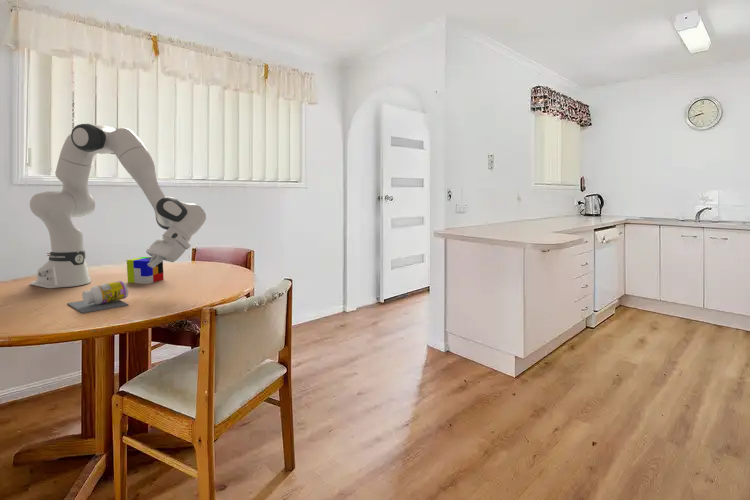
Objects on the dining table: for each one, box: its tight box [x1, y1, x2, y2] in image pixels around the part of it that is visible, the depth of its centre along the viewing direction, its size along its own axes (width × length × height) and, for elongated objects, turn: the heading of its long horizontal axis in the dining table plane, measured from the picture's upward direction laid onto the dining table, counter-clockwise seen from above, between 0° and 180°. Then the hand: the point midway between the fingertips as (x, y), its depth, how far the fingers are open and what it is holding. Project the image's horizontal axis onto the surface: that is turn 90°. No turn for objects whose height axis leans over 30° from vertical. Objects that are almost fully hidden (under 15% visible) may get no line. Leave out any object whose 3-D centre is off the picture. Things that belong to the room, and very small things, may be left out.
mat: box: [67, 299, 129, 314], centre depth 153 cm, size 14×16×1 cm
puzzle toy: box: [126, 256, 165, 285], centre depth 192 cm, size 10×10×10 cm
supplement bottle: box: [81, 280, 129, 305], centre depth 153 cm, size 7×7×13 cm
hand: (150, 266), depth 165 cm, fingers closed
